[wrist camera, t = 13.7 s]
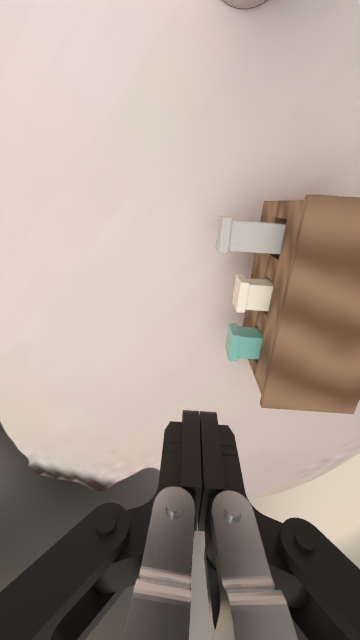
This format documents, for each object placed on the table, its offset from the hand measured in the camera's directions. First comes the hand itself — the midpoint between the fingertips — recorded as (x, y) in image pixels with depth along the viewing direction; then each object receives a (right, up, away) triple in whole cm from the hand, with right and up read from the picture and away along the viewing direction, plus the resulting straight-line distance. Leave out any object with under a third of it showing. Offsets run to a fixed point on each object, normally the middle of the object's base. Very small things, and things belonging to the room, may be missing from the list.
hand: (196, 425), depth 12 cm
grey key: (+9, +15, +21) cm, 27 cm away
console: (+15, +11, +31) cm, 36 cm away
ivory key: (+11, +9, +24) cm, 28 cm away
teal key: (+11, +2, +27) cm, 29 cm away
